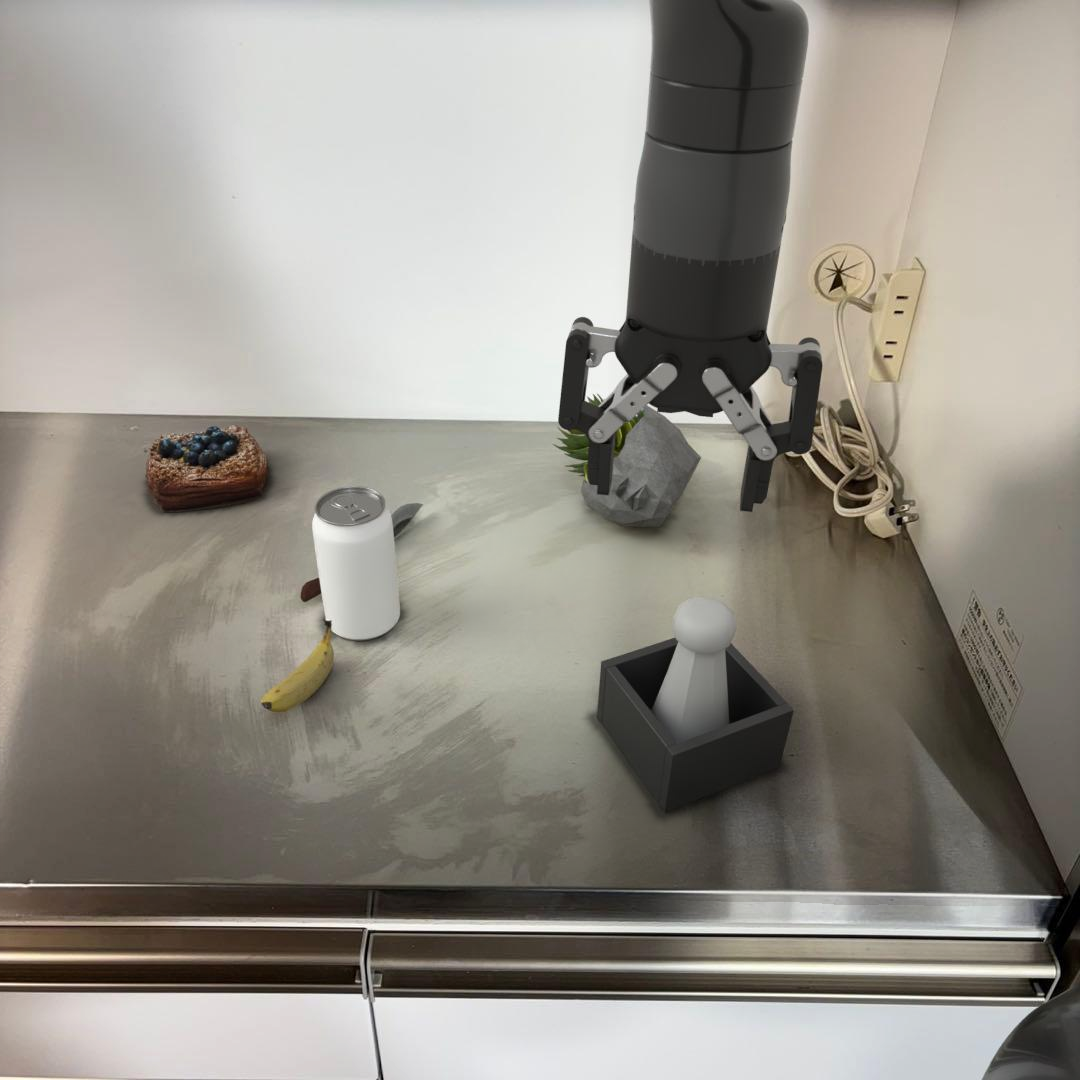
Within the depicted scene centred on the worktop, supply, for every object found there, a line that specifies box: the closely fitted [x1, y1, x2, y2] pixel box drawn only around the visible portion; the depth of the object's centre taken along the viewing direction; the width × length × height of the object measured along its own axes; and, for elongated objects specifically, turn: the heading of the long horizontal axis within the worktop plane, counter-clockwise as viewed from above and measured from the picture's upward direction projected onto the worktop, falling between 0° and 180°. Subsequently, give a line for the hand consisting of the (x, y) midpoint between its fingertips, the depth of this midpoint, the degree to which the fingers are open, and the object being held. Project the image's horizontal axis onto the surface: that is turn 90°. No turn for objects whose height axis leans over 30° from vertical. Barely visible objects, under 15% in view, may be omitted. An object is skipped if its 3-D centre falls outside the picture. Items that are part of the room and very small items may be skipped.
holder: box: [596, 637, 795, 814], centre depth 72 cm, size 10×10×6 cm
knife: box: [300, 502, 424, 603], centre depth 91 cm, size 18×2×3 cm, turn 151°
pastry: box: [145, 424, 269, 513], centre depth 101 cm, size 11×12×6 cm
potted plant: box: [552, 393, 702, 528], centre depth 97 cm, size 12×13×15 cm
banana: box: [260, 618, 335, 713], centre depth 76 cm, size 10×2×4 cm, turn 162°
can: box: [311, 485, 401, 642], centre depth 81 cm, size 6×6×12 cm
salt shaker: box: [650, 596, 737, 744], centre depth 70 cm, size 6×6×13 cm
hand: (675, 496), depth 59 cm, fingers open, 8 cm apart
